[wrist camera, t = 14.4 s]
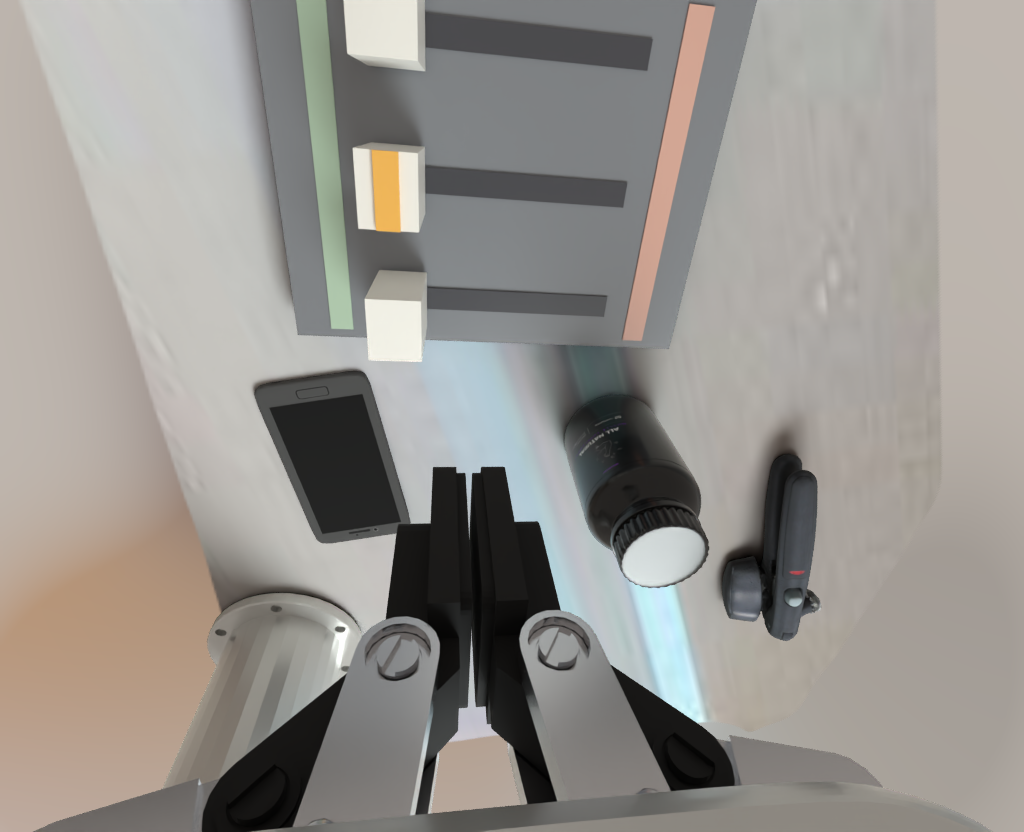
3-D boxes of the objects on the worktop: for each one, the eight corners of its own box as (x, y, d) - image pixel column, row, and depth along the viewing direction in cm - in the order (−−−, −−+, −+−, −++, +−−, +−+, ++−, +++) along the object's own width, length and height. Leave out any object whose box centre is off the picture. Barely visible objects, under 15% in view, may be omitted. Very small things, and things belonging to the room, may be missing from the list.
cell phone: (367, 366, 33) (365, 371, 32) (413, 525, 40) (412, 532, 39) (253, 382, 32) (249, 388, 32) (320, 539, 40) (318, 546, 39)
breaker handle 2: (427, 325, 29) (421, 362, 24) (382, 323, 28) (368, 360, 24) (426, 272, 27) (421, 301, 23) (379, 269, 27) (364, 298, 23)
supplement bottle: (578, 383, 34) (630, 497, 24) (669, 400, 36) (755, 515, 25) (550, 464, 37) (585, 596, 27) (634, 477, 39) (698, 606, 29)
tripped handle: (425, 213, 26) (418, 233, 21) (375, 209, 25) (357, 229, 21) (424, 146, 24) (417, 153, 20) (371, 142, 24) (351, 148, 19)
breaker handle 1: (425, 71, 23) (417, 60, 18) (368, 65, 22) (347, 53, 18) (424, -15, 21) (416, -48, 17) (363, -23, 21) (339, -58, 17)
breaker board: (658, 336, 33) (669, 349, 31) (307, 322, 30) (297, 335, 29) (736, 6, 24) (758, -3, 23) (257, -54, 22) (239, -69, 20)
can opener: (783, 595, 48) (819, 648, 43) (712, 604, 48) (740, 659, 43) (829, 442, 39) (881, 487, 34) (741, 452, 39) (781, 499, 34)
